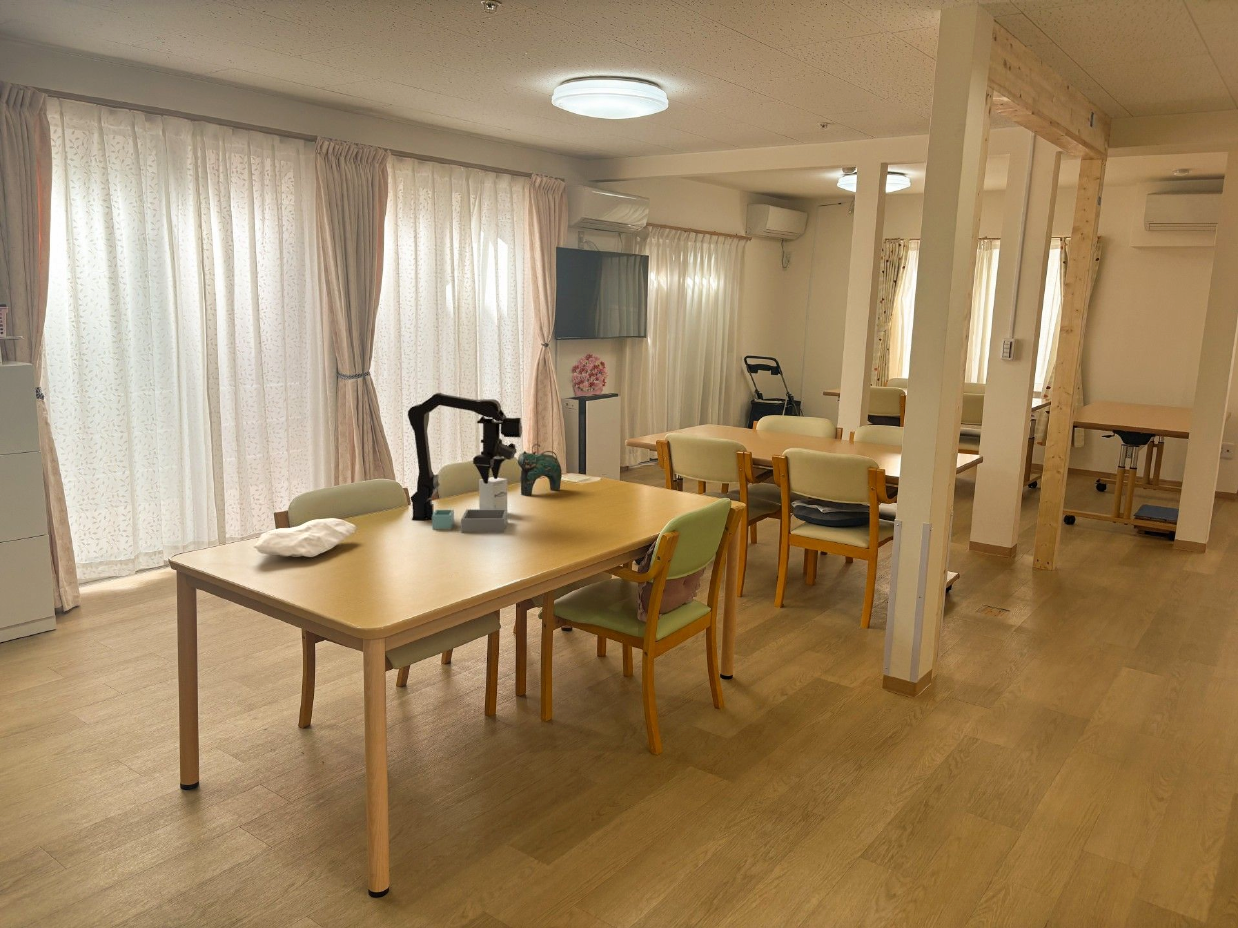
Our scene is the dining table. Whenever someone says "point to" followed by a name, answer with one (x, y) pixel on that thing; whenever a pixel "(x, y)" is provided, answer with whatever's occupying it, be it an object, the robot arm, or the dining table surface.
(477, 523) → the grey crate
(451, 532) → the dining table surface
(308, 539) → the crumpled cloth
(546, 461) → the ceramic cat
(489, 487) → the supplement box
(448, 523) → the teal crate
